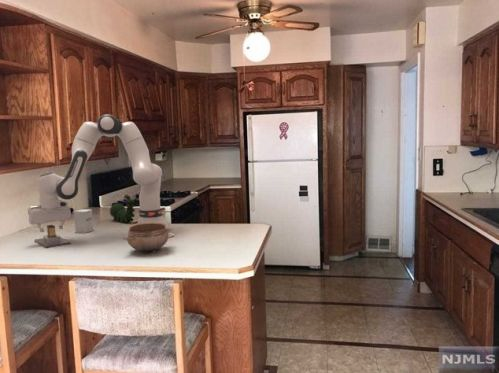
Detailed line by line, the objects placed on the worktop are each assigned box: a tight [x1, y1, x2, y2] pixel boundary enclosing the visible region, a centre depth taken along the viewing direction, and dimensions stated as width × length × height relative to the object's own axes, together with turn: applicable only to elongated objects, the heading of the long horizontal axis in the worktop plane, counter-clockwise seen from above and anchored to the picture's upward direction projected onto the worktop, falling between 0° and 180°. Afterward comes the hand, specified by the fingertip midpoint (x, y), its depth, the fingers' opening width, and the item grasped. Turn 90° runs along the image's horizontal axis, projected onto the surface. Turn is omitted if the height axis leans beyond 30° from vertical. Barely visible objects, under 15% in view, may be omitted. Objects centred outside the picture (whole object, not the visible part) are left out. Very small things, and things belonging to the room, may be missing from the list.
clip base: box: [34, 233, 71, 249], centre depth 225 cm, size 20×12×4 cm, turn 41°
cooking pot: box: [122, 222, 172, 254], centre depth 202 cm, size 25×19×12 cm
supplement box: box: [73, 208, 94, 234], centre depth 249 cm, size 7×7×13 cm
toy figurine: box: [109, 194, 136, 224], centre depth 276 cm, size 10×19×26 cm
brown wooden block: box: [46, 224, 57, 238], centre depth 224 cm, size 5×2×8 cm, turn 42°
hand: (51, 230), depth 224 cm, fingers open, 8 cm apart
